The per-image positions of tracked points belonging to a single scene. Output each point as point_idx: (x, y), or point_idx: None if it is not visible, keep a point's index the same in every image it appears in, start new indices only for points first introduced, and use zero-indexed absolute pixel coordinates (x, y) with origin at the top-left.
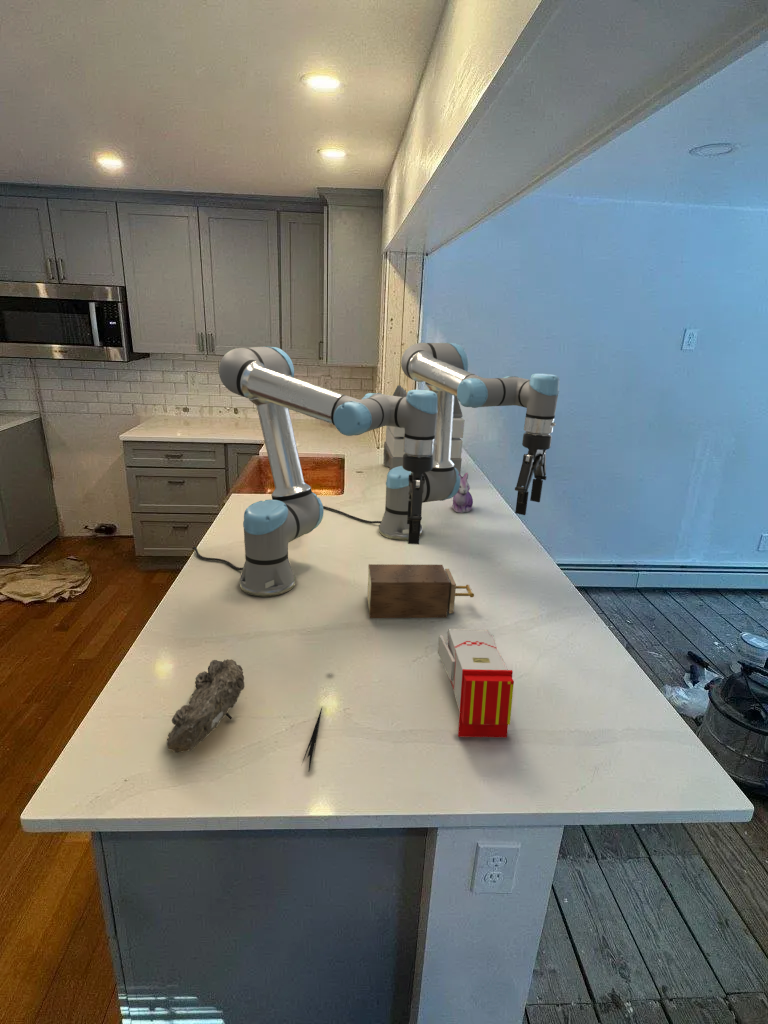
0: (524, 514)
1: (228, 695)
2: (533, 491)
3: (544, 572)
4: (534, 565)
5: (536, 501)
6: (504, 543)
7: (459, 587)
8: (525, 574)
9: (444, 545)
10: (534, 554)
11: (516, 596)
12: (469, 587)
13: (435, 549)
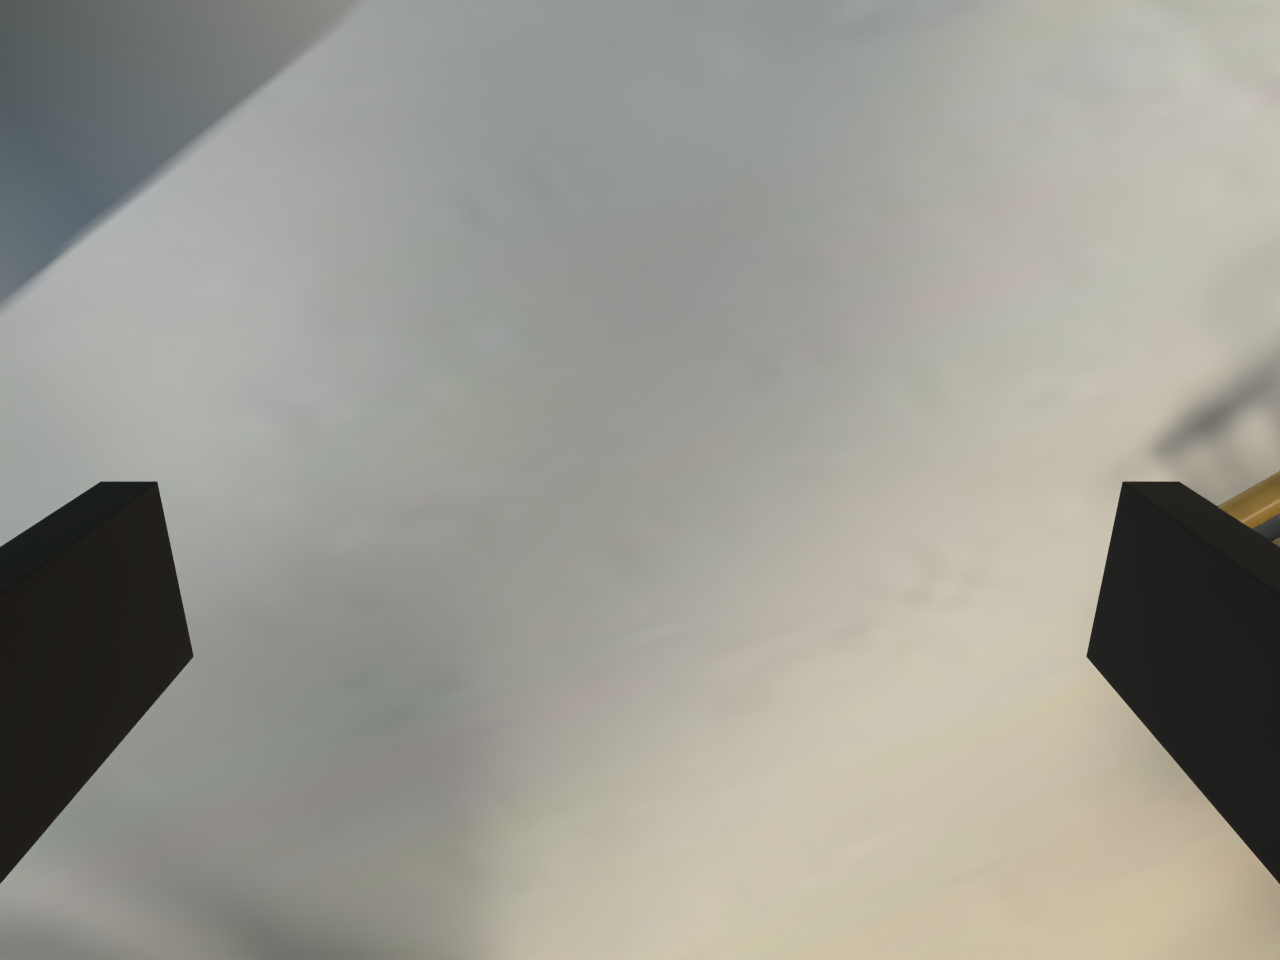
0: (1188, 494)
1: None
2: (64, 750)
3: (318, 161)
4: (247, 276)
5: (164, 541)
6: None
7: None
8: (462, 285)
9: (391, 889)
10: (37, 343)
11: (874, 223)
12: (1265, 511)
13: (490, 904)
